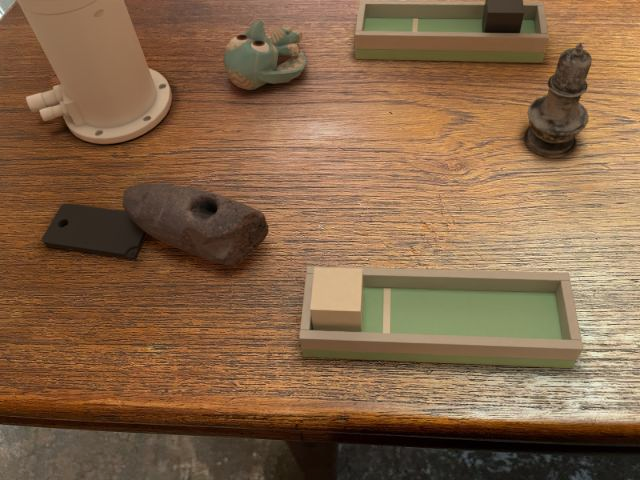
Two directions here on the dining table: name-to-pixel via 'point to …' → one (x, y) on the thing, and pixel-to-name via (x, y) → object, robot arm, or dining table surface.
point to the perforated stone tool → (196, 221)
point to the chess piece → (560, 107)
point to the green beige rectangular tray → (445, 32)
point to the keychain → (95, 231)
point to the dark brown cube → (502, 16)
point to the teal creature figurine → (263, 57)
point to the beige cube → (337, 299)
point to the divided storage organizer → (455, 318)
